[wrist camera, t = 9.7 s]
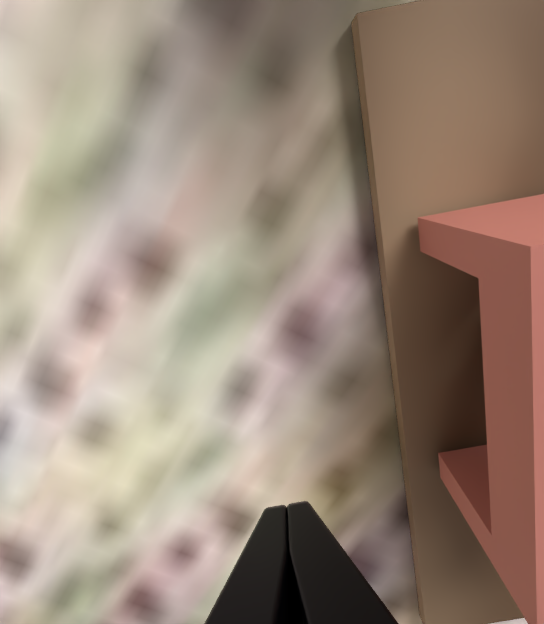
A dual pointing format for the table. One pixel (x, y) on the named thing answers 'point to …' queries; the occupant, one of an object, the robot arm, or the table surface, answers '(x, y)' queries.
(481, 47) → the board
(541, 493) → the pink u-shaped block
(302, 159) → the table surface
